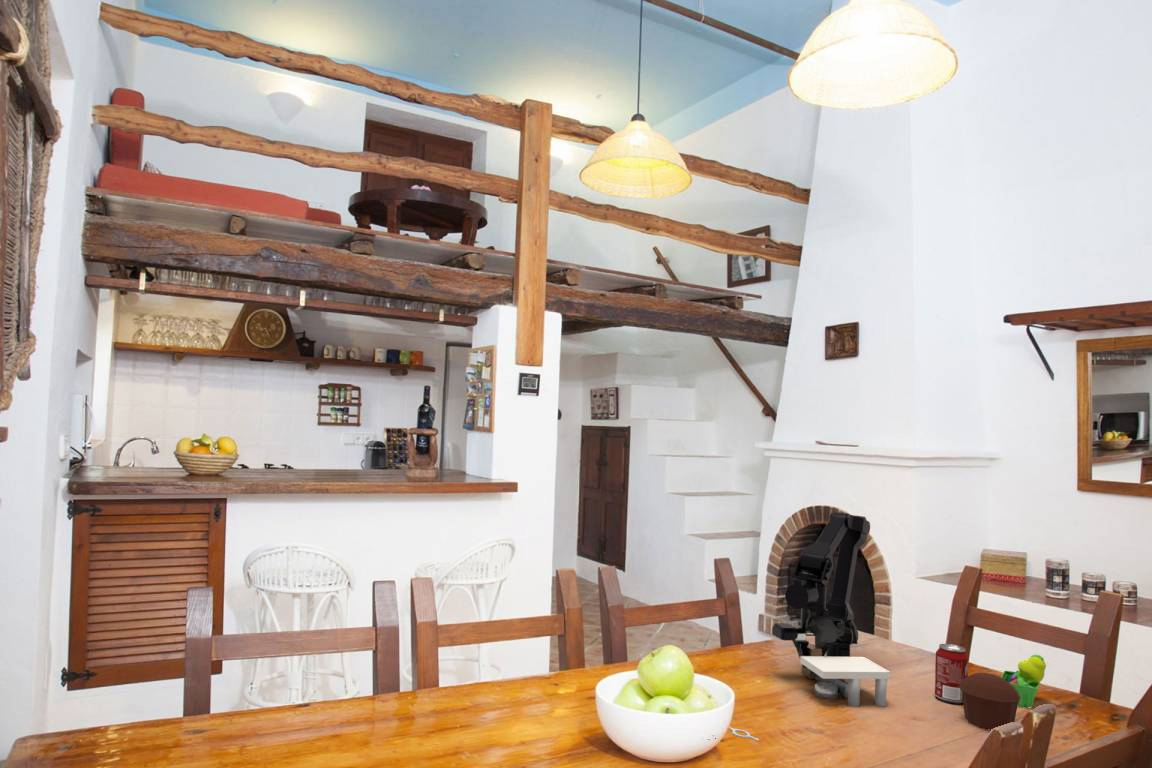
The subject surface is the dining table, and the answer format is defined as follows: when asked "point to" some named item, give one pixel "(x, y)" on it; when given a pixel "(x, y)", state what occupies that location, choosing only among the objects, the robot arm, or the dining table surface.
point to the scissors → (742, 735)
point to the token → (826, 690)
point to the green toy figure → (1027, 679)
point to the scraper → (841, 684)
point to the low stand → (850, 674)
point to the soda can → (950, 672)
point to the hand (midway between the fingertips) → (810, 667)
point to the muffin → (988, 700)
